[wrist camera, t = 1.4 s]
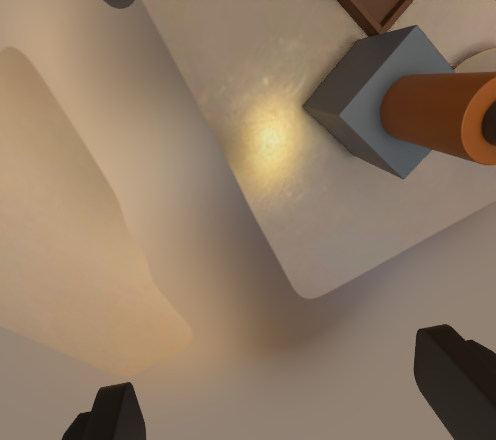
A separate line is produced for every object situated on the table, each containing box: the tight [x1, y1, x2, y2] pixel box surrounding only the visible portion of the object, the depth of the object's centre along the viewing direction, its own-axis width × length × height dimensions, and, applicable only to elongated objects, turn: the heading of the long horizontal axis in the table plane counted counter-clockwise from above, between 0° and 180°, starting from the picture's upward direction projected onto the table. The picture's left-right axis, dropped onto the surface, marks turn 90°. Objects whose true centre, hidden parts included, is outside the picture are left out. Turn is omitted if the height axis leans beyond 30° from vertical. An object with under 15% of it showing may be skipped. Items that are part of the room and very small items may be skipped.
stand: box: [303, 25, 456, 179], centre depth 31 cm, size 8×8×10 cm
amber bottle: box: [380, 72, 496, 165], centre depth 22 cm, size 5×5×11 cm
